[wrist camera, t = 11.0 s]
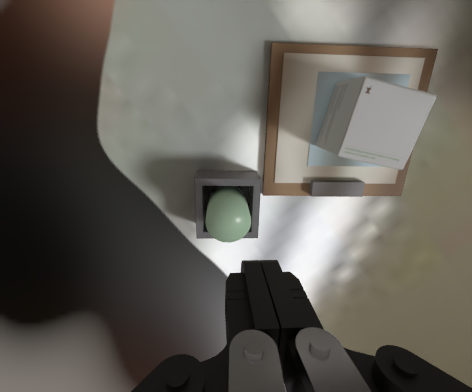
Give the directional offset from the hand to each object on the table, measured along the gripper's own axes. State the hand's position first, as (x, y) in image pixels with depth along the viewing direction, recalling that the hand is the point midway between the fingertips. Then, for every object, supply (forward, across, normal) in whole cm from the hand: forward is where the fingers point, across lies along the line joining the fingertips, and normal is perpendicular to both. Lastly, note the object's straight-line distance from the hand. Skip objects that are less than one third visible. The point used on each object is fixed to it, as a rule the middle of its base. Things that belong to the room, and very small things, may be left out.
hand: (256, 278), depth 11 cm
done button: (+13, +1, +1) cm, 13 cm away
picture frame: (+14, -10, -6) cm, 18 cm away
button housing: (+14, +1, +1) cm, 14 cm away
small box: (+14, -10, -6) cm, 18 cm away
